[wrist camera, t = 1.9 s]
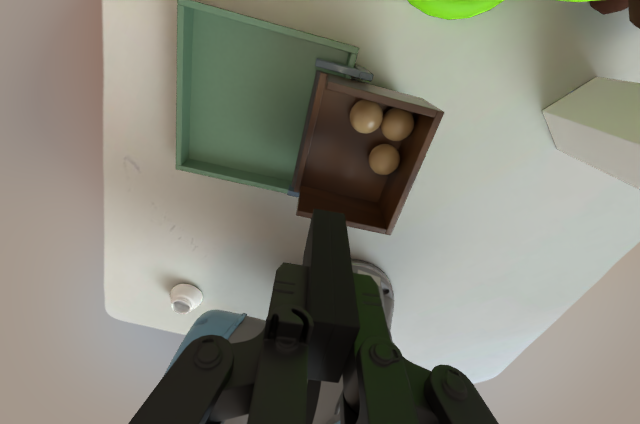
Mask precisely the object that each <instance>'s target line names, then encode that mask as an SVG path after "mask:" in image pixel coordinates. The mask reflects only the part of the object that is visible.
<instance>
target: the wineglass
mask: <svg viewBox="0 0 640 424" xmlns="http://www.w3.org/2000/svg"><path fill="white" fill-rule="evenodd" d="M502 1H504V0H408V2H409V3H410V4H411V5H413V6H414V7H416V8H418V9H419V10H421V11H422V12H424V13H426V14H427V15H430V16H434V17H438V18H443V19H447V20H450V19H462V18H470V17H472V16H475V15H478V14H480V13H483V12H486V11H488V10H491V9H492V8H494V7H495V6H497V5H498V4H499V3H501V2H502ZM558 1H569V2H584V1H596V0H558Z"/></svg>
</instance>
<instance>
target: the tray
mask: <svg viewBox="0 0 640 424" xmlns="http://www.w3.org/2000/svg"><path fill="white" fill-rule="evenodd" d="M177 4H178V5H177V103H176V169H178V170H182V171H187V172H191V173H196V174H200V175H205V176H209V177H214V178H218V179H223V180H227V181H232V182H236V183H241V184H246V185H250V186H255V187H259V188H264V189H268V190H273V191H277V192H282V193H286V194H287V193H288V189H289V185H291V183H292V179H293V174H294V170H295V165H296V160H297V156H298V151H299V147H300V142H301V138H302V133H303V128H304V124H305V119H306V115H307V110H308V105H309V101H310V96H311V92H312V87H313V83H314V78H315V73H316V70H320V71H323V72H326V73H330V74H334V75H337V76H341V77H345V78H348V79H351V76H349V75H346V74H342V73H338V72H335V71H331V70H327V69H323V68H320V67H316V66H315V63H316V59H317V58H319V59H323V60H326V61H330V62H334V63H337V64H341V65H345V66H348V67H352V68H354V65H355V61H356V58H357V54H358V50H359V48H358V47H355V46H351V45H347V44H344V43H340V42H337V41H333V40H330V39H326V38H323V37H319V36H316V35H312V34H309V33H305V32H302V31H298V30H295V29H291V28H288V27H284V26H280V25H277V24H273V23H270V22H266V21H263V20H259V19H256V18H252V17H249V16H245V15H242V14H238V13H235V12H231V11H228V10H224V9H221V8H217V7H213V6H210V5H206V4H203V3H199V2H196V1H192V0H177Z"/></svg>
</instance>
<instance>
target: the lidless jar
mask: <svg viewBox="0 0 640 424" xmlns="http://www.w3.org/2000/svg"><path fill="white" fill-rule="evenodd" d="M170 298H171V308H172V309H173V310H174V311H175V312H177V313H179V314H187V313H189V312H190V311H192V310H193V309H194V308H196V307H197V306H199V305H200V304H201V302H202V300H203V295H202V293H201V291H200V290H199V289H197V288H196V287H195V286H192V285H189V284H179V285H176V286H175V287H173V288H172V290H171V293H170Z"/></svg>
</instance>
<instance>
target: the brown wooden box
mask: <svg viewBox="0 0 640 424" xmlns="http://www.w3.org/2000/svg"><path fill="white" fill-rule="evenodd" d="M363 99H365V100H369V101H373V102H377V103H378V104H379V105H380V107H381V109H382V112H383V116H384V114H385V113H386V112H387V111H389V110H390V109H392V108H399V109H403V110H407V111H409V112H410V113H411V114H412V116H413V119H414V128H413V130H412V132H411V134H410V135H409V136H408V137H407V138H405V139H404V140H401V141H392V140H389V139H387V138H386V137H385V136H384V135H383V133H382V131H381V125H380V126H379V127H378V128H377V129H376V130H375V131H373V132H371V133H366V134H365V133H360V132H358V131H356V130H355V129H354V128H353V127H352V125H351V122H350V111H351V109H352V107H353V106H354V105H355V104H356V103H357V102H358V101H360V100H363ZM443 114H444V112H443V111H442V110H440V109H438V108H437V107H435V106H434V105H432V104H430V103H429V102H427V101H425V100H424V99H422V98H419V97H415V96H411V95H408V94H404V93H400V92H396V91H393V90H389V89H385V88H382V87H378V86H374V85H371V84H367V83H363V82H359V81H356V80H352V79H348V78H345V77H341V76H337V75H334V74H330V73H326V72H323V71H320V70H316V73H315V78H314V83H313V87H312V92H311V96H310V101H309V105H308V110H307V115H306V119H305V124H304V128H303V133H302V138H301V142H300V147H299V151H298V156H297V160H296V165H295V170H294V174H293V179H292V183H291V187H292V188H294V192H299V198H298V205H297V212H296V215H297V216H302V217H306V218H311V219H312V214H313V210H314V209H320V210H326V211H331V212H337V213H342V214H345V219H346V226H349V227H354V228H358V229H363V230H368V231H372V232H377V233H382V234H387V235H391V233H392V231H393V229H394V226H395V224H396V222H397V220H398V217H399V215H400V213H401V210H402V208H403V206H404V204H405V201H406V199H407V197H408V194H409V192H410V190H411V188H412V185H413V183H414V181H415V178H416V176H417V174H418V172H419V169H420V167H421V165H422V162H423V160H424V158H425V155H426V153H427V151H428V149H429V146H430V144H431V142H432V139H433V137H434V135H435V133H436V130H437V128H438V126H439V123H440V121H441V119H442V117H443ZM380 144H389V145H392V146H393V147H395V148H396V149H397V151H398V152H399V155H400V163H399V166H398V167H397V169H396V170H395V171H394V172H392V173H391V174H388V175H380V174H377V173H375V172H374V171H373V170H372V169H371V167H370V165H369V155H370V153H371V151H372V150H373V149H374V148H375V147H376V146H378V145H380Z"/></svg>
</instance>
